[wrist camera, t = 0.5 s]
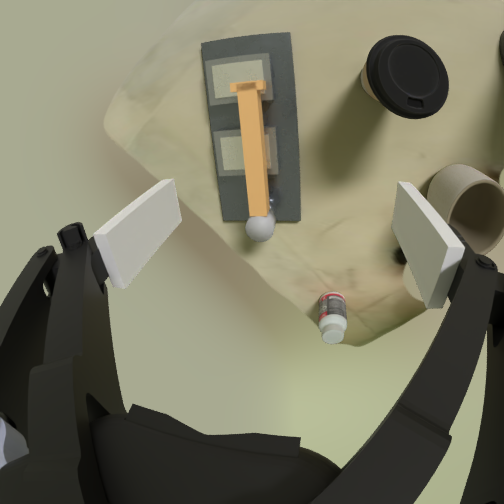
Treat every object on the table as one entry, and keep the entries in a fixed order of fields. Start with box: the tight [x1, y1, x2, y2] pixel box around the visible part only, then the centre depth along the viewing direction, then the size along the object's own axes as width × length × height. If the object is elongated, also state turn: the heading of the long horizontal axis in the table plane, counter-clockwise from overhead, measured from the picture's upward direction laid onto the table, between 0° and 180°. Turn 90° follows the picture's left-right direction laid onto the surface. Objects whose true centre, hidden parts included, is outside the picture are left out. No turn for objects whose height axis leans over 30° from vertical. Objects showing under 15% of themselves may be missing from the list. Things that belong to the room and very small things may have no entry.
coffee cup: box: [361, 35, 449, 119], centre depth 25 cm, size 9×9×15 cm
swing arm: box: [230, 80, 276, 242], centre depth 36 cm, size 22×4×3 cm, turn 5°
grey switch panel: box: [201, 32, 301, 221], centre depth 37 cm, size 13×30×5 cm, turn 5°
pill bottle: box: [319, 292, 347, 344], centre depth 50 cm, size 5×5×10 cm
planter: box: [427, 164, 504, 255], centre depth 33 cm, size 12×12×11 cm
